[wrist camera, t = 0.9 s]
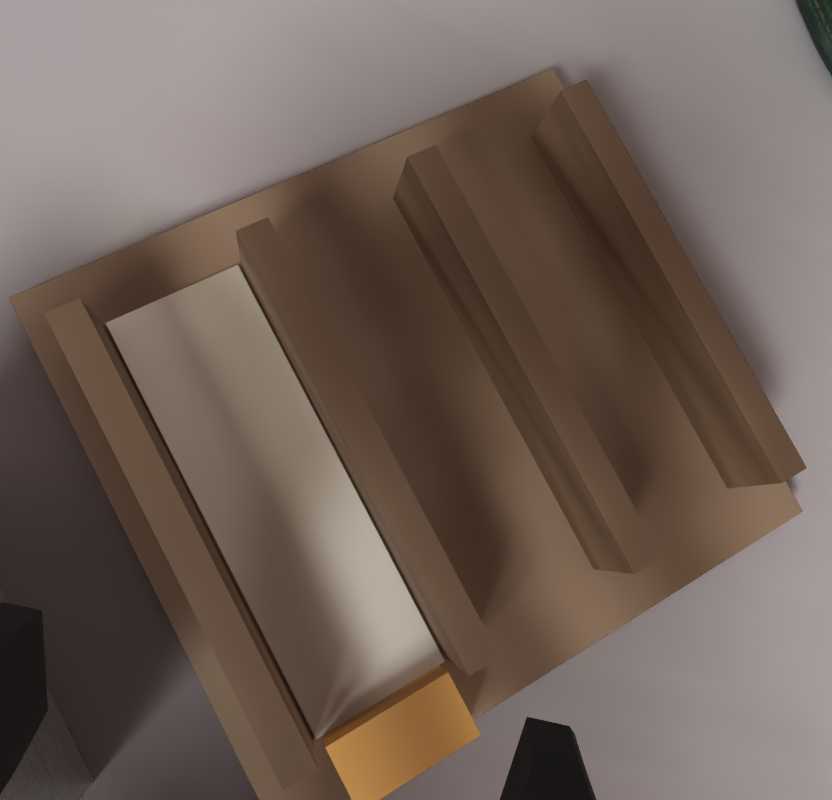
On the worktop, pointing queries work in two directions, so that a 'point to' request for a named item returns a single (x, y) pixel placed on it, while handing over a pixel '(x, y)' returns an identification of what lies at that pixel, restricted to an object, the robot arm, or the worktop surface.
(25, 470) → the worktop surface
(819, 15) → the coffee jar
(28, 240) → the worktop surface
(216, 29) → the worktop surface
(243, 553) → the slot rack
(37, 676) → the robot arm
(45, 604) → the worktop surface
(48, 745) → the grey brushed metal block
